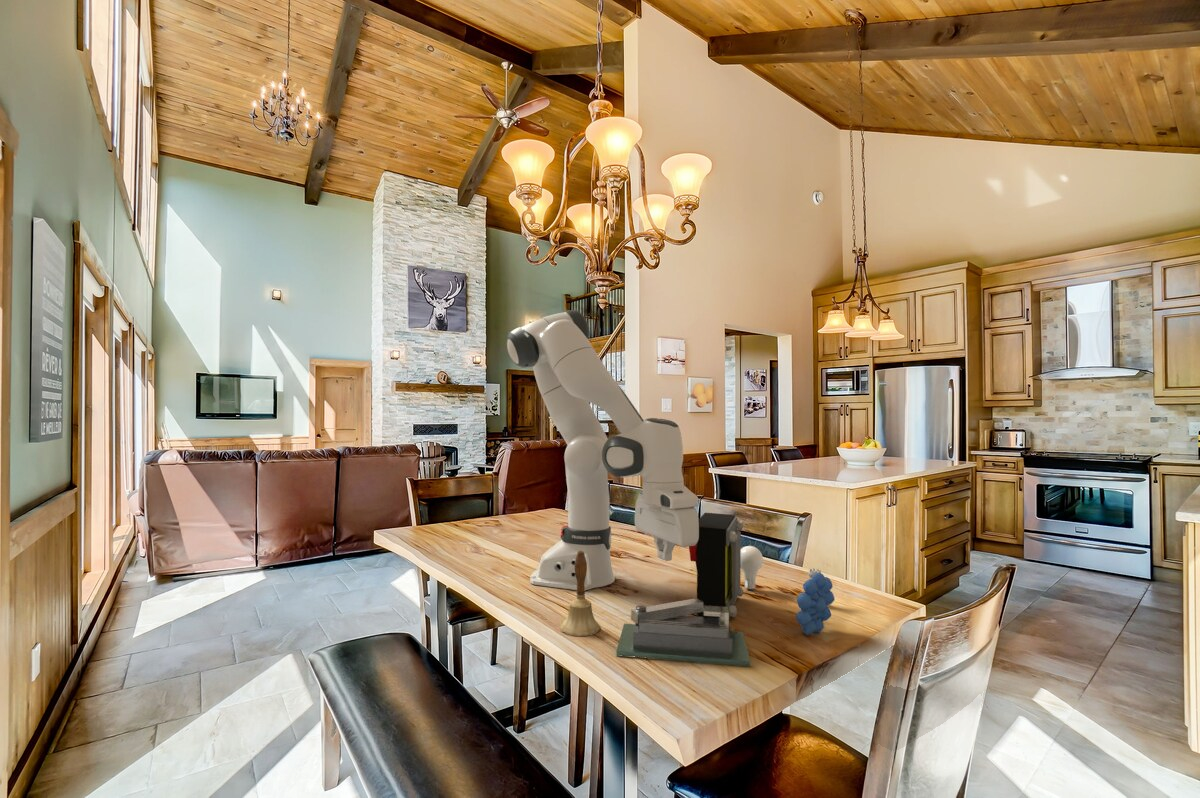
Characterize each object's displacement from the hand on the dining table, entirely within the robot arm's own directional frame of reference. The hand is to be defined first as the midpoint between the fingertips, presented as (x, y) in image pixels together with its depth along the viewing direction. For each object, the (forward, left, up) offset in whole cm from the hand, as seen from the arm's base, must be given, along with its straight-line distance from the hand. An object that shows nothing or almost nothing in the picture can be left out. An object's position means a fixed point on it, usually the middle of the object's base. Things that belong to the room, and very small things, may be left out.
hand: (664, 559), depth 116 cm
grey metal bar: (+1, -7, -9) cm, 12 cm away
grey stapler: (+4, -10, -14) cm, 18 cm away
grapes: (+30, +2, -14) cm, 33 cm away
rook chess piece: (+35, +19, -14) cm, 42 cm away
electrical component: (+12, +13, -14) cm, 22 cm away
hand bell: (-17, -5, -14) cm, 23 cm away
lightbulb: (+21, +27, -14) cm, 37 cm away
